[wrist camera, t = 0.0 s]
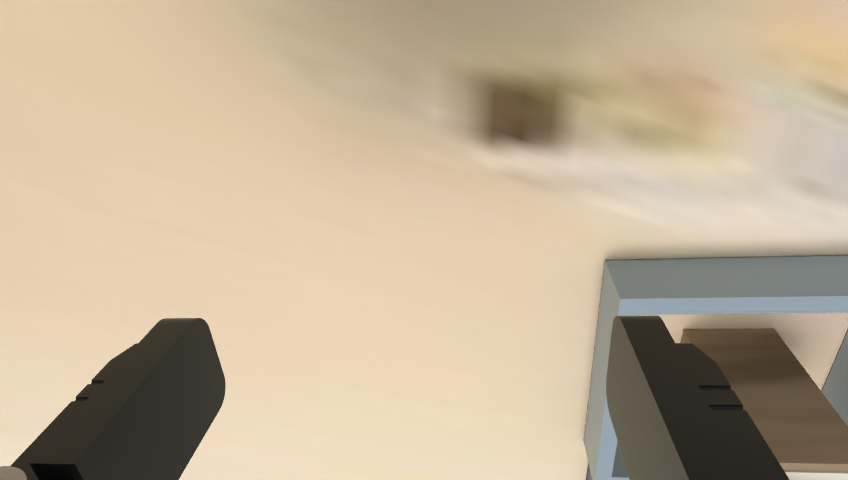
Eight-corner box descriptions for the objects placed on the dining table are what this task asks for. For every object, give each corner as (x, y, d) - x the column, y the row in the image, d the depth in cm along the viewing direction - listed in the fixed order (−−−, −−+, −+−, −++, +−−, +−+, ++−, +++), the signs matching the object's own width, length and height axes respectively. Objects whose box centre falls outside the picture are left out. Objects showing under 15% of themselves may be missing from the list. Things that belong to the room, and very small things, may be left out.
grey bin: (604, 260, 29) (620, 298, 26) (901, 254, 27) (954, 294, 24) (583, 440, 36) (593, 486, 33) (814, 444, 35) (847, 493, 32)
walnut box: (683, 329, 31) (755, 464, 23) (773, 328, 30) (878, 466, 22) (669, 389, 33) (730, 529, 26) (752, 389, 33) (840, 533, 25)
